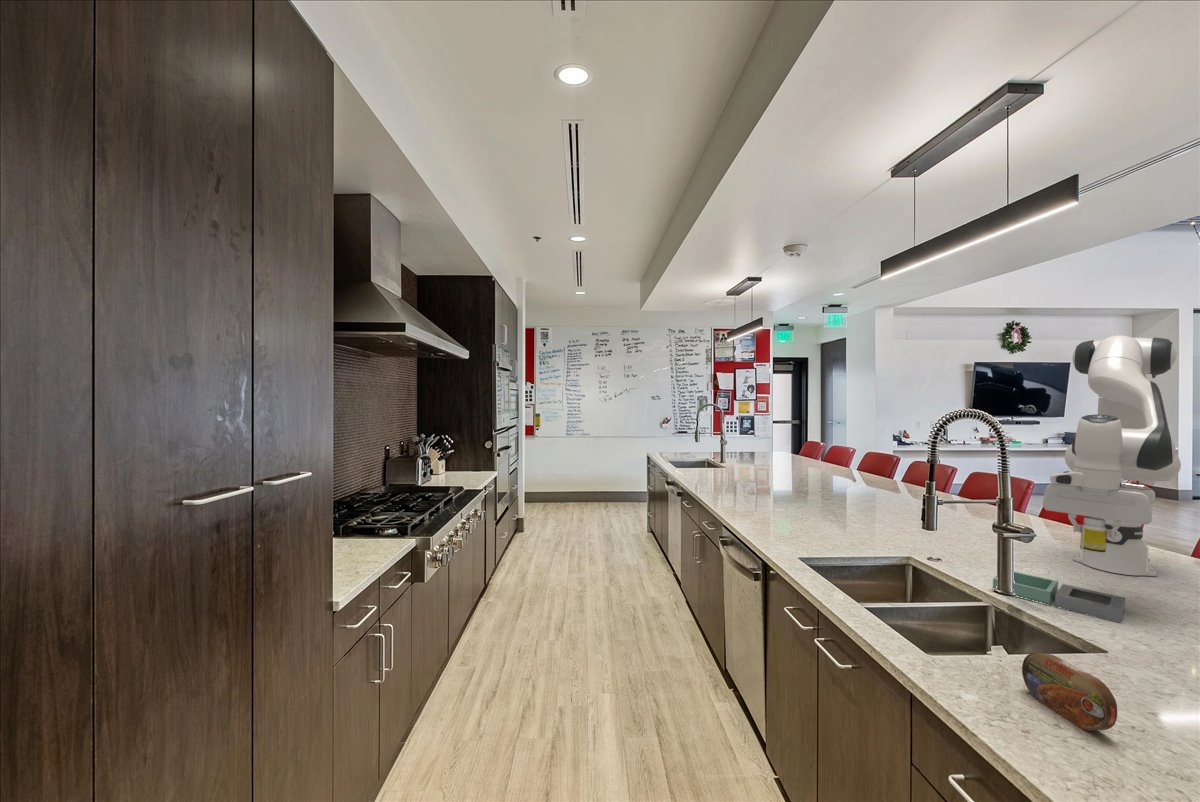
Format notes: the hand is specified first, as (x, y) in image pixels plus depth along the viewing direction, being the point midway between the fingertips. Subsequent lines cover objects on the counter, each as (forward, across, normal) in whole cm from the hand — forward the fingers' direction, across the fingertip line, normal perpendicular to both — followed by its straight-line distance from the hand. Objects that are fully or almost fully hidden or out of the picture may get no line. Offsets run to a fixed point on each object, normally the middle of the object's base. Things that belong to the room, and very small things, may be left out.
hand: (1093, 534), depth 136 cm
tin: (+19, -3, +63) cm, 66 cm away
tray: (+19, +13, 0) cm, 23 cm away
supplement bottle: (+4, 0, 0) cm, 5 cm away
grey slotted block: (+19, 0, 0) cm, 19 cm away
